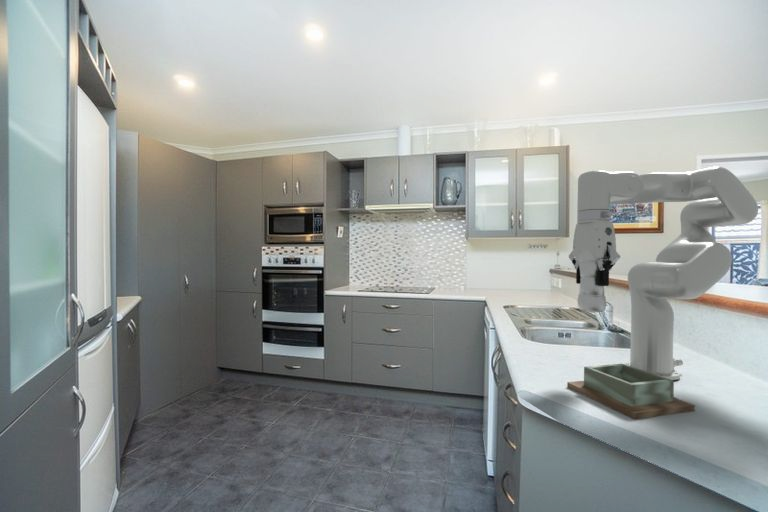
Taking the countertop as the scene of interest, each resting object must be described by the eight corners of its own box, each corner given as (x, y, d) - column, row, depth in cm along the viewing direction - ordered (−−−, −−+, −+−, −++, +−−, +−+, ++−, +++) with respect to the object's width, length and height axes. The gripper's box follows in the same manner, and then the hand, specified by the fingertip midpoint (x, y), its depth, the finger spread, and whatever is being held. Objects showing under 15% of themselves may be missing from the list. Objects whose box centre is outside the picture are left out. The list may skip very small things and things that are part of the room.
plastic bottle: (610, 315, 87) (612, 237, 87) (581, 313, 88) (583, 237, 88) (600, 311, 93) (602, 238, 93) (573, 309, 95) (575, 238, 95)
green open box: (620, 381, 89) (620, 360, 89) (694, 410, 72) (695, 384, 72) (567, 387, 84) (567, 364, 84) (634, 419, 68) (634, 390, 68)
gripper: (634, 215, 83) (633, 287, 83) (579, 221, 100) (578, 282, 100) (610, 213, 82) (608, 287, 82) (557, 220, 98) (556, 282, 98)
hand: (591, 284), depth 91 cm, fingers closed on plastic bottle, 6 cm apart
